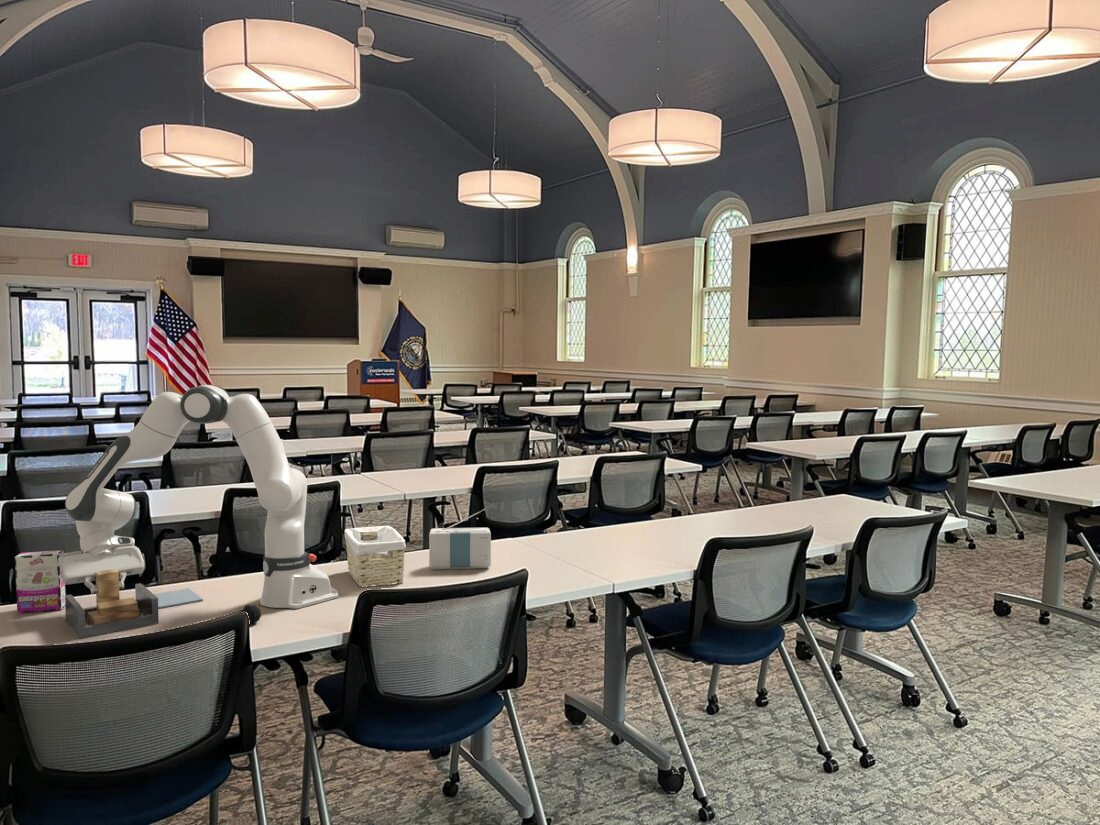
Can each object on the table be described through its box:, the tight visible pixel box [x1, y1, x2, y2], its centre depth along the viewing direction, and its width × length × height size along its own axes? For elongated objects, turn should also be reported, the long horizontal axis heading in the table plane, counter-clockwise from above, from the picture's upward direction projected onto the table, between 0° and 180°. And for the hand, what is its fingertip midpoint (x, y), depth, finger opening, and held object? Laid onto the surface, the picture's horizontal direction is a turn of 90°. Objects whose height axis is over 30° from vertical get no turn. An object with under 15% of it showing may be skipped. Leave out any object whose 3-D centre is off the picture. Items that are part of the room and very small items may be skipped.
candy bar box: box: [14, 549, 66, 614], centre depth 230 cm, size 11×5×16 cm, turn 106°
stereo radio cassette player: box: [428, 508, 492, 570], centre depth 279 cm, size 21×8×20 cm, turn 97°
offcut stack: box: [86, 597, 143, 626], centre depth 219 cm, size 12×7×6 cm, turn 131°
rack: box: [64, 582, 160, 640], centre depth 220 cm, size 19×18×7 cm
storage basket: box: [344, 525, 407, 588], centre depth 266 cm, size 24×16×15 cm
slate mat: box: [153, 587, 204, 610], centre depth 240 cm, size 14×14×1 cm
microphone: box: [241, 604, 262, 626], centre depth 215 cm, size 6×6×20 cm
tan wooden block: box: [95, 569, 121, 603], centre depth 223 cm, size 5×4×13 cm
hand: (108, 590), depth 223 cm, fingers closed on tan wooden block, 5 cm apart
